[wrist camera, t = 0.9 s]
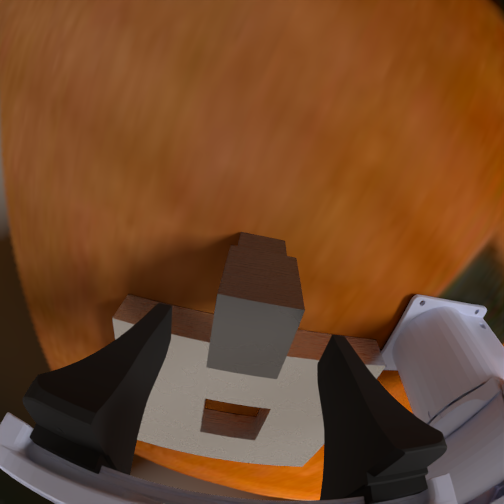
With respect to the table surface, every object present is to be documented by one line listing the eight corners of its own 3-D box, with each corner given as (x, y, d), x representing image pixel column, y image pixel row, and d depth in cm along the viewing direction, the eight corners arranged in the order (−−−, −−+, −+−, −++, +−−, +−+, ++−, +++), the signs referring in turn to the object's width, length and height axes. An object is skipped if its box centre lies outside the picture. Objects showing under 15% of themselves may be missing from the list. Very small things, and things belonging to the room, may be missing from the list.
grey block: (292, 235, 18) (304, 310, 11) (275, 294, 20) (276, 379, 13) (236, 224, 18) (217, 293, 11) (225, 284, 20) (206, 367, 13)
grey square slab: (375, 339, 22) (385, 365, 19) (301, 446, 31) (302, 466, 28) (128, 294, 21) (112, 318, 18) (143, 420, 30) (137, 439, 27)
